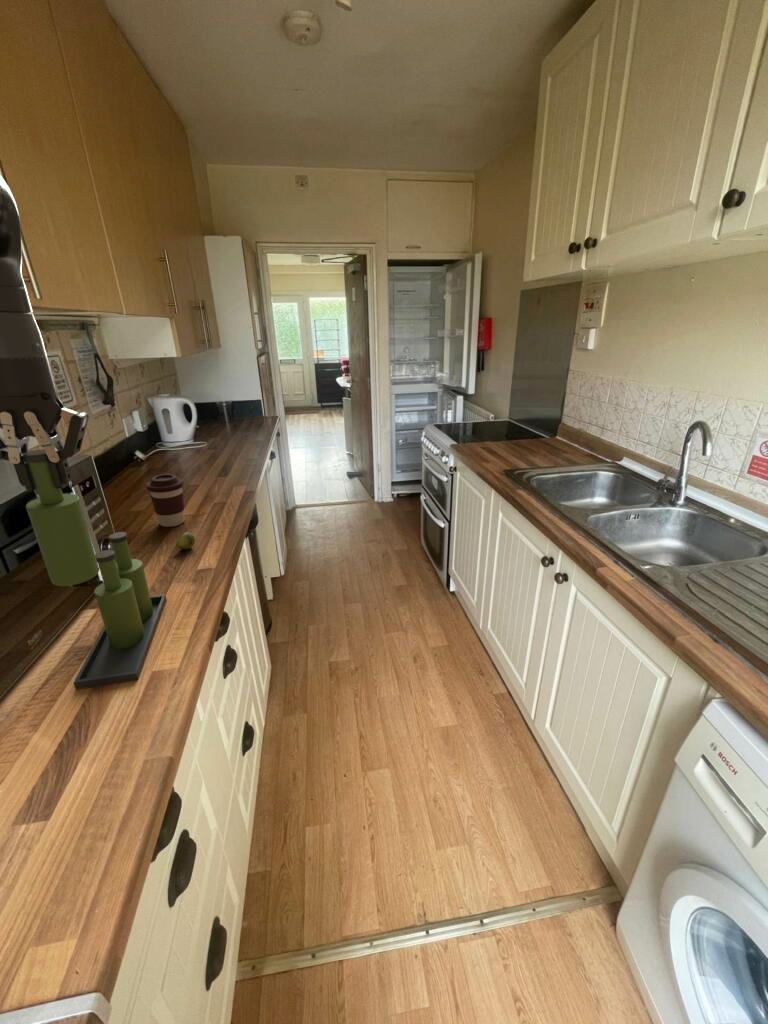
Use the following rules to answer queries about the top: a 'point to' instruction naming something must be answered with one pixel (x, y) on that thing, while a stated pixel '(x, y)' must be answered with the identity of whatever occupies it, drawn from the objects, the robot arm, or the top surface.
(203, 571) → the top surface
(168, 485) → the coffee cup
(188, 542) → the lime
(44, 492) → the bottle loose
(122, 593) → the bottle mid
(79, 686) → the tray
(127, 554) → the bottle far
